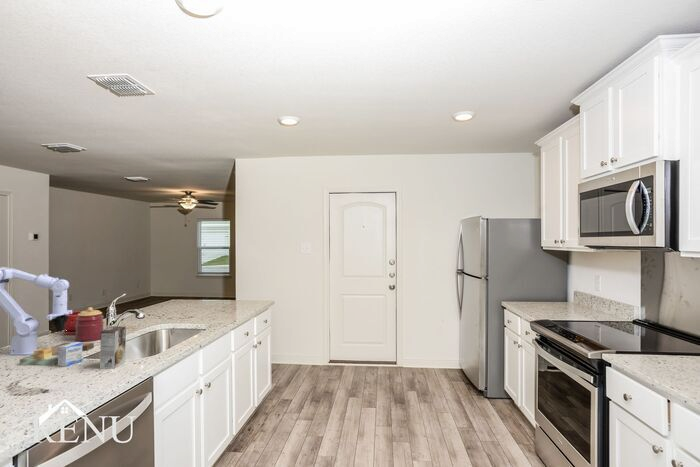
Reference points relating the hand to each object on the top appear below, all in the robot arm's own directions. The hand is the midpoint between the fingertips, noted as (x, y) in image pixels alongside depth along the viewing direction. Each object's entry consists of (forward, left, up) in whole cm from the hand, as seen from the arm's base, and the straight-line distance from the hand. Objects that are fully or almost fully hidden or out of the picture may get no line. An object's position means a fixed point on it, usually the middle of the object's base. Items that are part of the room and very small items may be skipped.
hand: (59, 331), depth 185 cm
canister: (+1, +21, -10) cm, 23 cm away
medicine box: (+20, -20, -10) cm, 30 cm away
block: (+7, -19, -7) cm, 22 cm away
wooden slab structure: (+7, -9, -9) cm, 15 cm away
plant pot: (-15, +34, -10) cm, 38 cm away
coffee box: (+40, -22, -10) cm, 47 cm away
